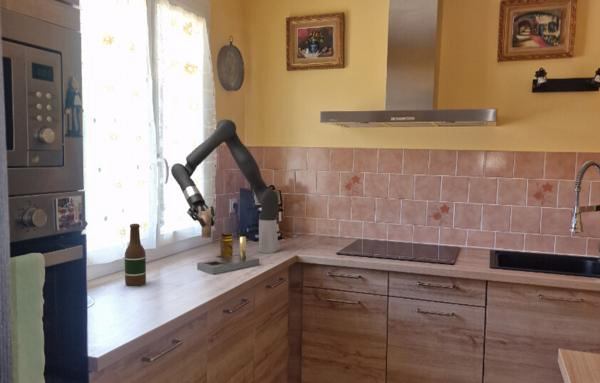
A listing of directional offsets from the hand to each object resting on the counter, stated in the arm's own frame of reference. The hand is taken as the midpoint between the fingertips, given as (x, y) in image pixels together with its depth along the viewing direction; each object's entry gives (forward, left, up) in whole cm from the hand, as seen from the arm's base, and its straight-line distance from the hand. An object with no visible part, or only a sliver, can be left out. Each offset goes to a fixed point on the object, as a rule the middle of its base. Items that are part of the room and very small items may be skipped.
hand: (208, 225), depth 219 cm
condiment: (-15, -8, -19) cm, 25 cm away
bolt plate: (-4, +10, -18) cm, 21 cm away
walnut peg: (0, -2, -6) cm, 6 cm away
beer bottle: (+40, +8, -19) cm, 45 cm away
